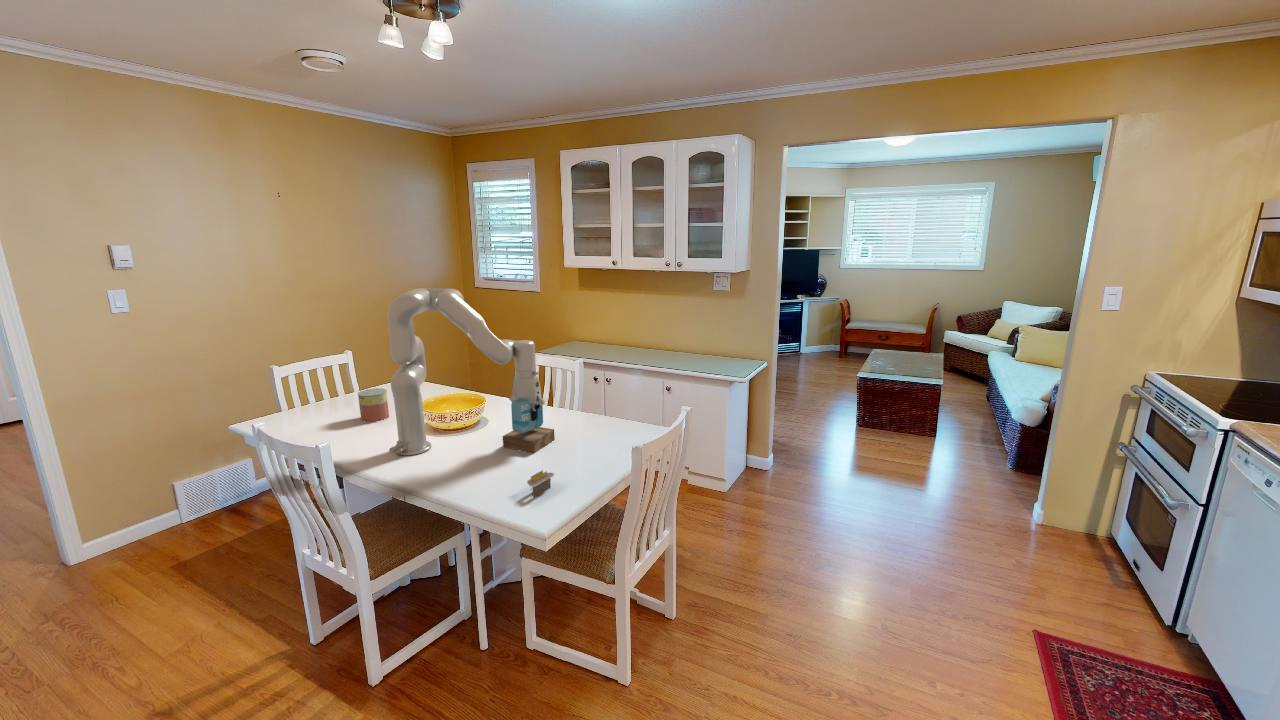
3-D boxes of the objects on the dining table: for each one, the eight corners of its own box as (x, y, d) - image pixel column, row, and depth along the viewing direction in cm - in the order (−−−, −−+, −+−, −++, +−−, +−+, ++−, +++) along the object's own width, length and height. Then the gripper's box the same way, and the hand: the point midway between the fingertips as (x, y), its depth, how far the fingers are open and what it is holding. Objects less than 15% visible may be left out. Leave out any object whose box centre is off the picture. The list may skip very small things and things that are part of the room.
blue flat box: (520, 434, 205) (519, 403, 202) (512, 431, 208) (510, 401, 205) (543, 425, 215) (542, 395, 212) (535, 423, 217) (534, 393, 214)
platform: (505, 499, 170) (504, 480, 168) (544, 477, 185) (543, 459, 183) (535, 509, 164) (534, 489, 162) (572, 486, 179) (572, 467, 177)
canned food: (361, 416, 244) (358, 390, 241) (389, 412, 249) (386, 387, 246) (360, 424, 234) (357, 397, 231) (389, 420, 239) (386, 393, 236)
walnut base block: (534, 454, 204) (533, 441, 203) (503, 448, 209) (502, 436, 208) (554, 441, 216) (554, 429, 215) (524, 436, 222) (524, 424, 220)
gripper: (550, 373, 207) (552, 418, 211) (511, 368, 212) (513, 413, 217) (540, 377, 200) (542, 425, 204) (500, 373, 206) (502, 419, 210)
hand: (527, 418), depth 210 cm, fingers closed on blue flat box, 5 cm apart
